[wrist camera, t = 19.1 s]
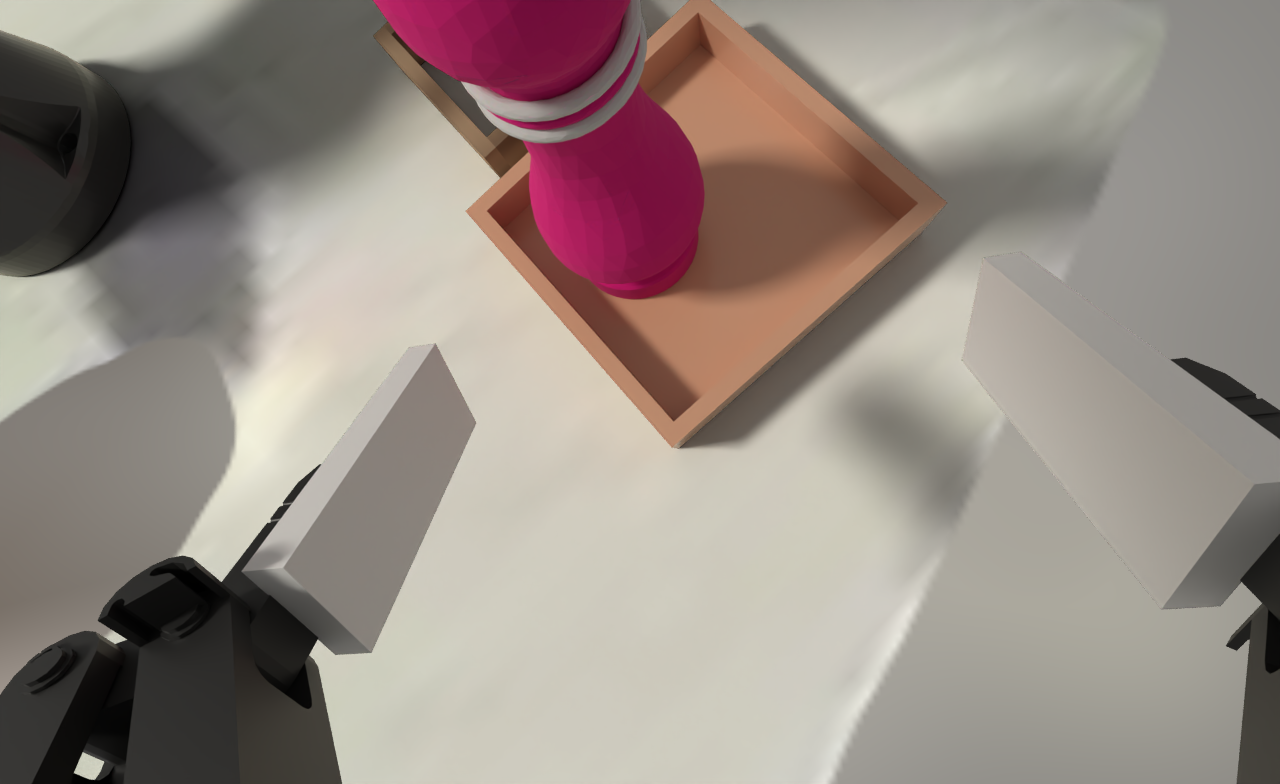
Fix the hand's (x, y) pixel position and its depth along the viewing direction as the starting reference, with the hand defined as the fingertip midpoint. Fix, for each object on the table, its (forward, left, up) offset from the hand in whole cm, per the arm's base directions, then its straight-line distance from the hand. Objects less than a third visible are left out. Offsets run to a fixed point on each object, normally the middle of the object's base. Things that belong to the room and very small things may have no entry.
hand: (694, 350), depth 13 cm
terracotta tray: (-7, +5, -13) cm, 16 cm away
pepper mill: (-9, +3, -12) cm, 15 cm away
